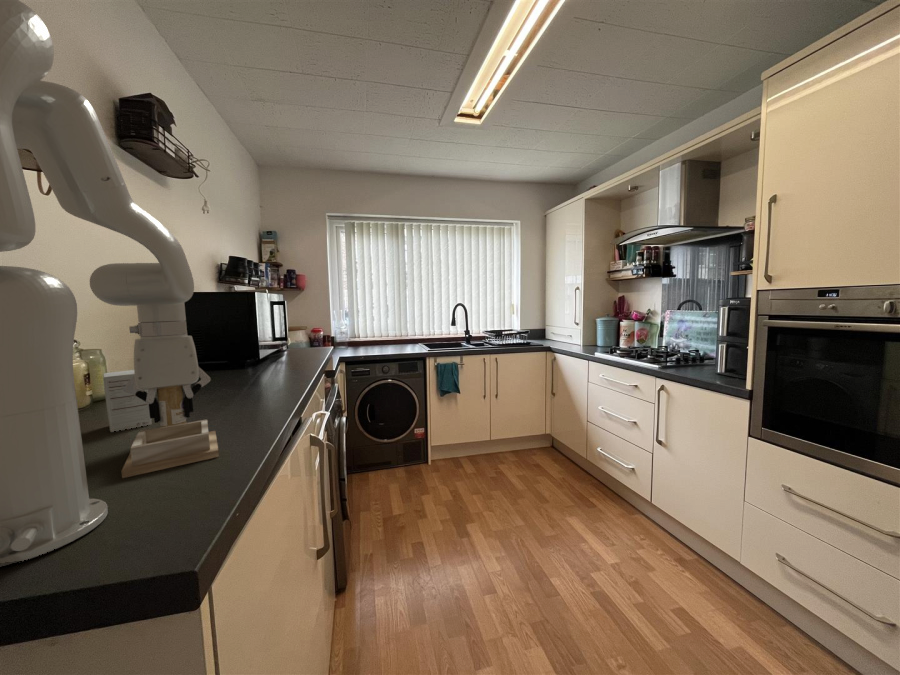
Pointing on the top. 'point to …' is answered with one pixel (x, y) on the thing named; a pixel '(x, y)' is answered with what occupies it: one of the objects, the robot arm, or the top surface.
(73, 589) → the top surface
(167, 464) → the socket board
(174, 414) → the sprinkles bottle
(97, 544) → the top surface
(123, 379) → the supplement box
